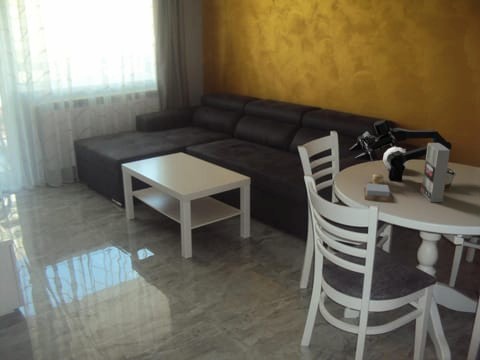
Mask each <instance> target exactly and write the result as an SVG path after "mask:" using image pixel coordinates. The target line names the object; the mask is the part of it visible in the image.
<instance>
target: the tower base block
mask: <svg viewBox="0 0 480 360" xmlns="http://www.w3.org/2000/svg"><path fill="white" fill-rule="evenodd" d="M389 191H390V194H389V197H383V196H369V195H367V191H366V187H363V194H364V195H363V196H364V200H368V201H383V202H392V199H393V198H392V194H391V190H390V188H389Z"/></svg>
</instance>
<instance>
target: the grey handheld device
mask: <svg viewBox="0 0 480 360" xmlns="http://www.w3.org/2000/svg"><path fill="white" fill-rule="evenodd" d="M427 146H428V148H427V155H425V156H426V158H425V163H424V171H423V179H422V183H421V184H420V190H419V192H420V193H421V194H422V195H423V196H424V198H426V200H428V201H429V203H443V202H444V194H445V193H444V192H445V190H444V187H445V180H446V174H447V168H449V167H448V165H449V159H450V158H449V157H450V154H451V153H450V152H451V149H450V150H449V149H447V148H446V147H444V146H443V145H441V144H440V143H433V142H428V143H427Z"/></svg>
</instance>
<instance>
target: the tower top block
mask: <svg viewBox="0 0 480 360" xmlns="http://www.w3.org/2000/svg"><path fill="white" fill-rule="evenodd" d="M365 188H366V191H367V195H369V196H383V197H389V194H390V193H391V190H390V191H389V189H390V187H389V184H382V185H381V184H372V183H366V187H365Z"/></svg>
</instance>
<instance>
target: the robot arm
mask: <svg viewBox="0 0 480 360" xmlns="http://www.w3.org/2000/svg"><path fill="white" fill-rule="evenodd" d="M373 126H374V129H375V133H376V134H377V135H379V136H378V137H377V136H374V135H371V134H370V133H369V132H368V131H365V132H364V133H363V134H362V135H359V136H357V140H356V143H355V144H354V145H353V146H352V147H350V148H349V149H348V150H349V152H356V151H361V150H363V149H365V151H364V152H363V153H361V154H359V155H357V156H355V157H354V160H356V161H372V162H375V161H377V160H378V155H377V152H376V151H377V150H379V151H381V150H383V148H384V147H386V146H388V145H390V146H391V148H392V147H395V146H396V145H395V144H396V143H397V142H403V141H407V140H411V139H431V140H432V141H433V142H432V143H440V144H441V145H443V146H444V147H446V148H447V149H449V150H450V151H451V150H452V147H453V146H452V143H451V142H450V141H448V140H446V139H445V138H444V137H443V136H442V135H441V134H440V133H439V131H437V130H435V129H425V130H424V129H423V130H422V129H414V130H413V129H406V128H400V127H394V128H390V126H389V123H388V120H387V118H386V119H381V120H377V121H375V122H374V123H373ZM394 140H395V141H394ZM427 148H428V145H426V146H422V147H419V148H415V149H412V150H410V151H406V152H405V153H402V152H400V151H399V150H398V151H396V152H391V154H389V155H388V157H387V162H388V163H389V164H390V166H391V167H390V169H388V180H389V181H393V182H403V181H404V180H403V174H404V171H405V169H406V165H405V166H404V165H403V164H404V163H405V162H406V161H411V160H414V159H418V158H422V157H424V156H426V155H427Z"/></svg>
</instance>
